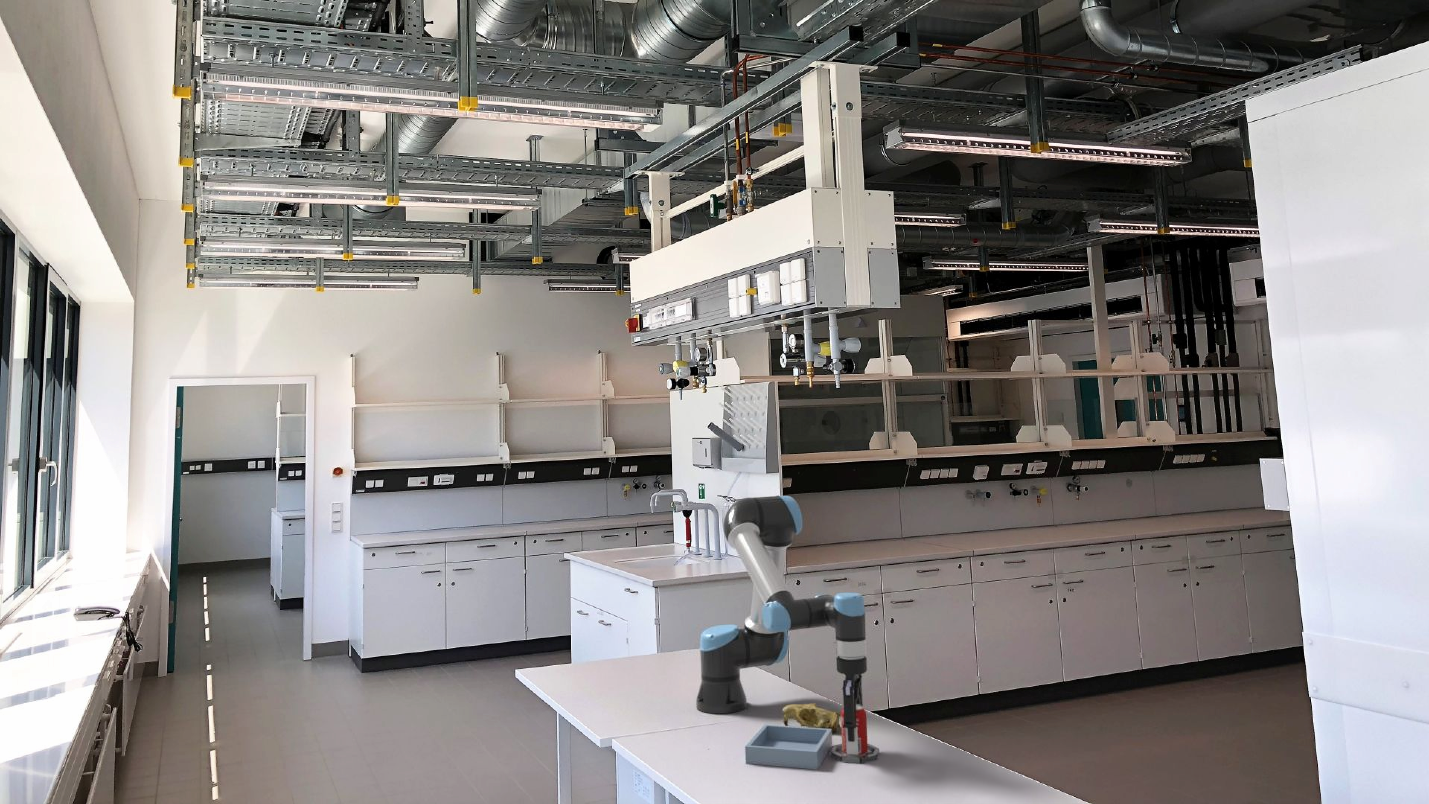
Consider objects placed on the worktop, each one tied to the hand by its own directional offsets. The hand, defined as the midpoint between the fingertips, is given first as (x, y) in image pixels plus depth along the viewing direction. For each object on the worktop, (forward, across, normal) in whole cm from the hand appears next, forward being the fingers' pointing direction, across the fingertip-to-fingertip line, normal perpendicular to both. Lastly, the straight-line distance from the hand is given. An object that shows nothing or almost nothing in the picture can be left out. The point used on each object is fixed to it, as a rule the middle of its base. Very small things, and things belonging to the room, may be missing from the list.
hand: (854, 749), depth 232 cm
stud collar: (+1, 0, 0) cm, 1 cm away
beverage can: (+2, 0, 0) cm, 2 cm away
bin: (+1, +3, -16) cm, 16 cm away
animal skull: (+2, -19, -15) cm, 24 cm away
